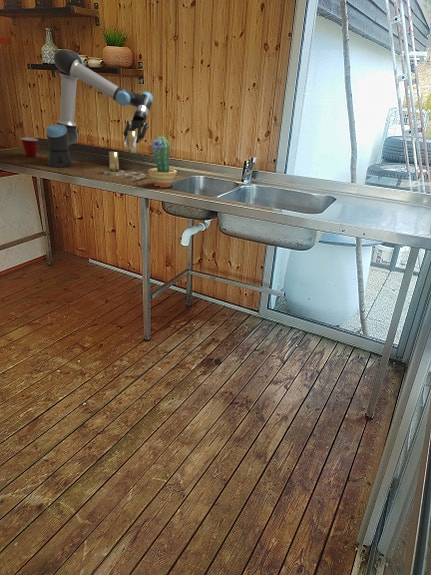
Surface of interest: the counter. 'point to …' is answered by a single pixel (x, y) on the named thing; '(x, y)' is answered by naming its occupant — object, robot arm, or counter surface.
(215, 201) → the counter surface
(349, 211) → the counter surface
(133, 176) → the pallet
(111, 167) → the cylinder
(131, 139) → the brass billet
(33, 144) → the plastic cup
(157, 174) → the potted cactus
